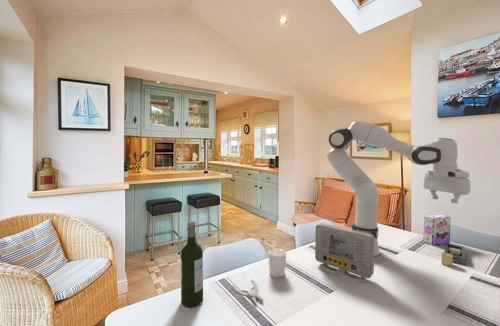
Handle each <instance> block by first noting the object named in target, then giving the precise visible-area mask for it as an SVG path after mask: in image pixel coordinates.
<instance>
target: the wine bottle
mask: <svg viewBox="0 0 500 326" xmlns="http://www.w3.org/2000/svg"><path fill="white" fill-rule="evenodd" d="M186 241H187V242H186V244H185V245H184V246H183V248H182V249H181V251H180V296H181V298H180V302H181V305H182V306H183V307H185V308H187V309H190V308H193V309H194V308H197V307H199V306H200V305H201V304H202V303H203V301H204V265H203V264H204V263H203V262H204V257H203V256H204V253H203V252H204V250H203V248H202V246H201V245H200V244H198V243H197V236H196V221H195V220H189V221H188V222H187V239H186Z"/></svg>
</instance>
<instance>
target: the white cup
mask: <svg viewBox="0 0 500 326" xmlns="http://www.w3.org/2000/svg"><path fill="white" fill-rule="evenodd" d="M286 258H287V251H286V250H284V249H282V248H273V249H270V250H268V267H269V275H270V276H271V277H273V278H282V277H285V272H286V271H285V269H286V263H287V262H286V261H287V259H286Z"/></svg>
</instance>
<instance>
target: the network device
mask: <svg viewBox="0 0 500 326" xmlns="http://www.w3.org/2000/svg"><path fill="white" fill-rule="evenodd" d="M314 239H315V240H314V241H315V243H314V245H315V246H314V247H315V248H314V249H315V251H314V253H315V254H314V255H315V256H314V257H315V260H316V261H317V262H319V263H322V264H321V265H320V269H322V270H323V271H326V272H327V273H331V274H334V275H336V276H338V277H342V278H344V279H347V280H350V281H353V282H357V283H360V281H361V282H363V281H364V280H365V279H370V278H372V276H373V275H374V272H375V271H374V270H375V256H374V243H375V238H374V236H373V235H372V234H369V233H364V232H360V231H355V230H352V229H351V228H350V229H349V228H345V227H341V226H337V225H332V224H327V223H324V222H322V223H321V222H320V223H318V224H316V225H315V238H314ZM326 266H331V267H334V268H336V269H337V270H336V271H334V270H331V269H329V268H326ZM346 273H351V274H354V275H357V276H358V277H359V276H360V277H359V278H353V277H351V276H349V275H345V274H346ZM362 280H363V281H362Z"/></svg>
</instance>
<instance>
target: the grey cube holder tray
mask: <svg viewBox="0 0 500 326" xmlns="http://www.w3.org/2000/svg"><path fill="white" fill-rule="evenodd" d="M450 248H455V249H460V256H457V255H453V259H452V263H456V264H461V265H464V266H465V265H466V263H467V262H466V253H465V246H463V245H458V244H454V243H445V244H444V253H449V254H450Z"/></svg>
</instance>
